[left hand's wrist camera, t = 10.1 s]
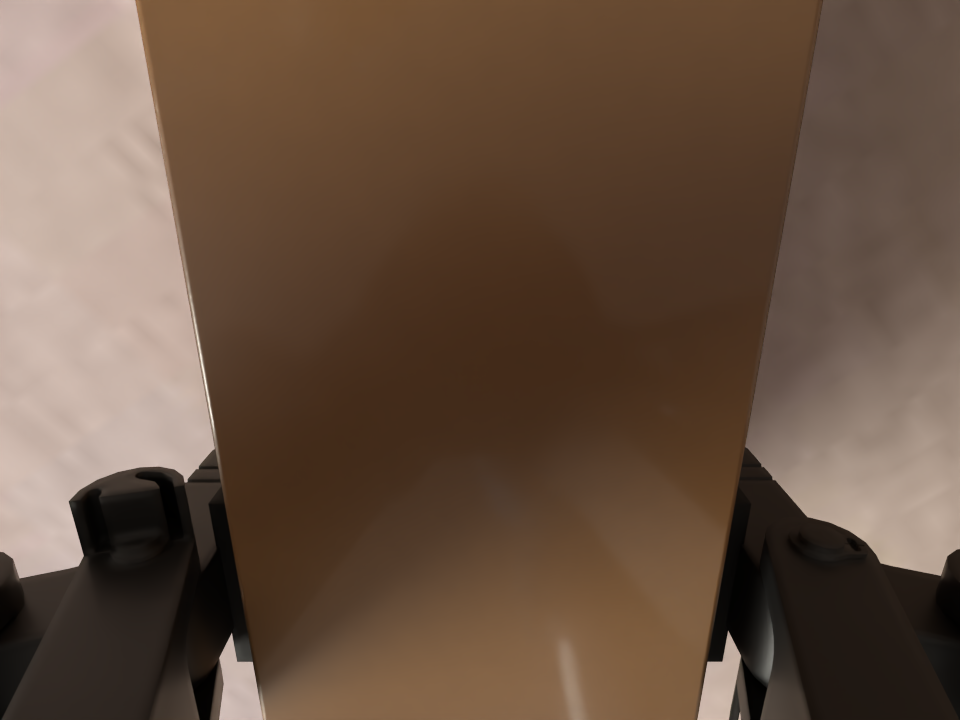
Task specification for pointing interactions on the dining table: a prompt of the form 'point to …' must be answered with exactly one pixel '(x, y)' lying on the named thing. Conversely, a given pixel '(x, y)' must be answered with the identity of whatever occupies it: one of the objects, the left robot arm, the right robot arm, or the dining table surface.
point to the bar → (479, 332)
